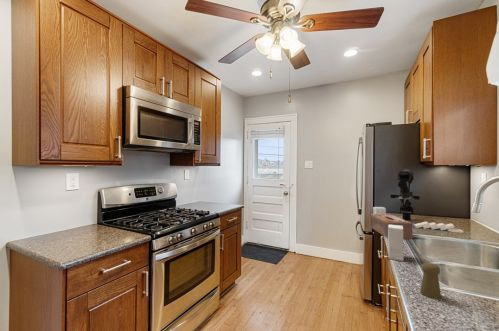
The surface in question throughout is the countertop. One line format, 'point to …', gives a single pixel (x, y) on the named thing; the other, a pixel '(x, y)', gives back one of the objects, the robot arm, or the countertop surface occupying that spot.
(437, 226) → the domino
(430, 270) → the cork
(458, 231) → the domino
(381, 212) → the small box
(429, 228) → the rubber mat
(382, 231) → the tissue box cover
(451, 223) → the domino
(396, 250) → the skincare box
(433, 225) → the domino
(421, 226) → the white angular block
